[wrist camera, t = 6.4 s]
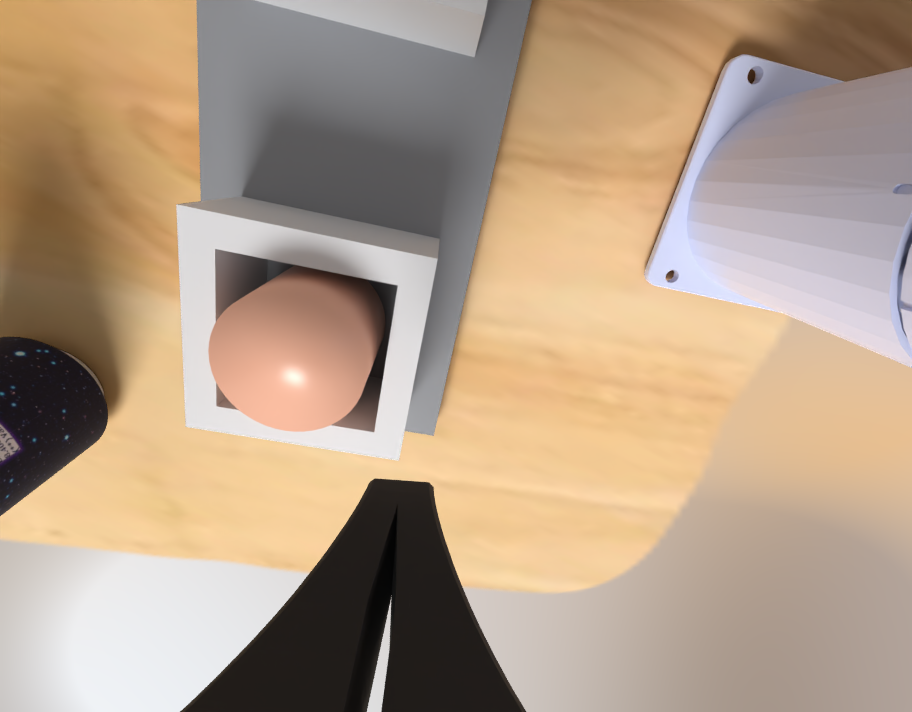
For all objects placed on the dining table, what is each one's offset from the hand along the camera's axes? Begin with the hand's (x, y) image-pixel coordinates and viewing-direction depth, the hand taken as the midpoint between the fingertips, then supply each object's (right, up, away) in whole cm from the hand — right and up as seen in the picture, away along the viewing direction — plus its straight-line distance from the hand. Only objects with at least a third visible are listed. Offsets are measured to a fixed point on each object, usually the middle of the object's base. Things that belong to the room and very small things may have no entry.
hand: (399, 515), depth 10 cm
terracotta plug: (-4, +5, +6) cm, 9 cm away
